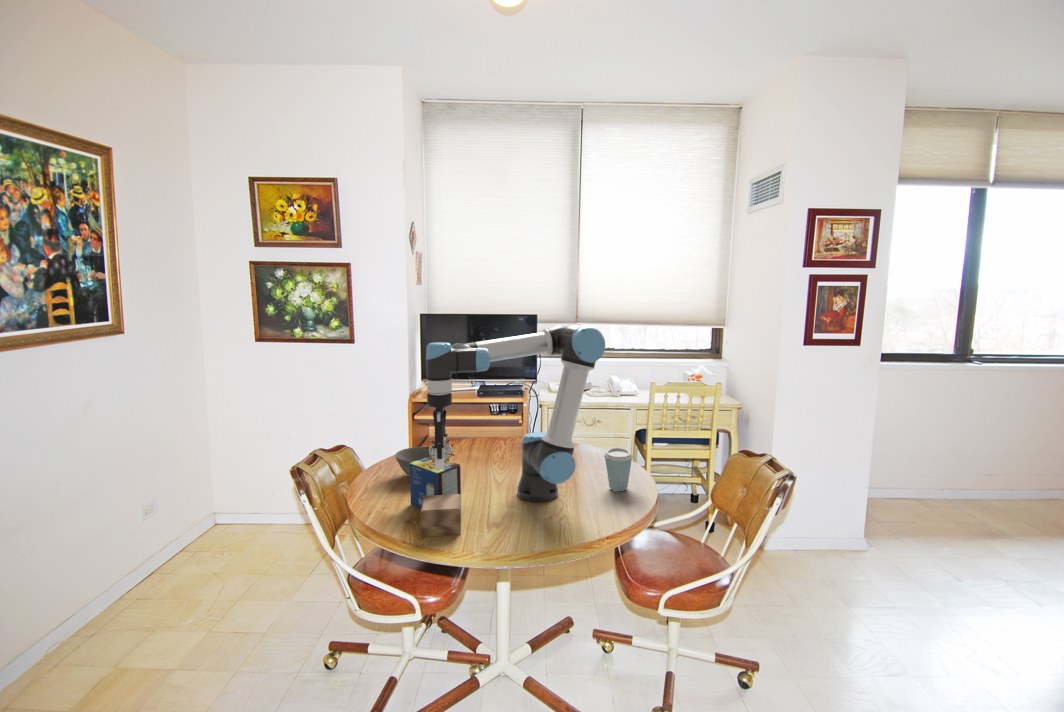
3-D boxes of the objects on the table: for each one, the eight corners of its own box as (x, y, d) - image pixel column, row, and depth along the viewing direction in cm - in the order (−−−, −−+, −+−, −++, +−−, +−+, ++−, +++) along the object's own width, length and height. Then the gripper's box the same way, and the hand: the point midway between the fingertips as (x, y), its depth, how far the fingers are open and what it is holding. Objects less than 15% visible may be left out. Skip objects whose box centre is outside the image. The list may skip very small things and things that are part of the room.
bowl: (417, 489, 188) (416, 464, 187) (386, 478, 200) (385, 454, 198) (453, 475, 203) (452, 451, 202) (422, 465, 214) (422, 443, 213)
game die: (438, 472, 158) (436, 443, 163) (460, 466, 155) (458, 436, 160) (421, 467, 150) (420, 436, 155) (444, 460, 148) (443, 428, 153)
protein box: (433, 495, 183) (432, 455, 181) (461, 507, 173) (461, 464, 171) (409, 505, 175) (408, 462, 173) (438, 517, 165) (437, 472, 163)
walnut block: (461, 517, 165) (460, 493, 164) (460, 534, 153) (460, 509, 152) (424, 519, 164) (423, 495, 163) (421, 536, 152) (420, 511, 151)
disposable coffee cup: (633, 495, 184) (635, 455, 182) (604, 494, 184) (605, 455, 183) (629, 484, 194) (630, 447, 193) (602, 483, 195) (603, 446, 193)
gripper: (429, 386, 163) (431, 452, 166) (423, 400, 142) (425, 475, 144) (452, 385, 164) (453, 451, 167) (450, 399, 143) (451, 474, 145)
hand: (440, 462), depth 156 cm, fingers closed on game die, 9 cm apart
